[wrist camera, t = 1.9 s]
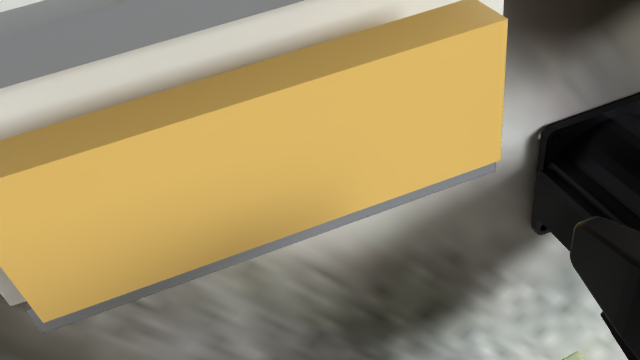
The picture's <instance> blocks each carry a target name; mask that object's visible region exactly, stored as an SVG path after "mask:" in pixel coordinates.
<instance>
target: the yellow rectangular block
mask: <svg viewBox="0 0 640 360" xmlns="http://www.w3.org/2000/svg"><path fill="white" fill-rule="evenodd" d="M507 28H508V19H507V18H506V17H504V16H502V15H501V14H499V13H498V12H496V11H494V10H493V9H491V8H489V7H488V6H486V5H485V4H483V3H481V2H480V1H478V0H461V1H458V2H455V3H451V4H448V5H445V6H441V7H438V8H435V9H432V10H428V11H425V12H422V13H418V14H415V15H412V16H408V17H405V18H402V19H399V20H395V21H392V22H389V23H385V24H382V25H379V26H375V27H372V28H369V29H366V30H362V31H359V32H356V33H352V34H349V35H346V36H343V37H339V38H336V39H333V40H329V41H326V42H323V43H319V44H316V45H313V46H310V47H306V48H303V49H300V50H296V51H293V52H290V53H286V54H283V55H280V56H277V57H273V58H270V59H267V60H263V61H260V62H257V63H254V64H250V65H247V66H244V67H240V68H237V69H234V70H230V71H227V72H224V73H221V74H217V75H214V76H211V77H207V78H204V79H201V80H197V81H194V82H191V83H188V84H184V85H181V86H178V87H174V88H171V89H168V90H164V91H161V92H158V93H155V94H151V95H148V96H145V97H141V98H138V99H135V100H132V101H128V102H125V103H122V104H118V105H115V106H112V107H108V108H105V109H102V110H99V111H95V112H92V113H89V114H85V115H82V116H79V117H75V118H72V119H69V120H66V121H62V122H59V123H56V124H52V125H49V126H46V127H43V128H39V129H36V130H33V131H29V132H26V133H23V134H19V135H16V136H13V137H10V138H6V139H3V140H0V267H1V268H2V269H3V271H4V272H5V273H6V275H7V276H8V277H9V279H10V280H11V281H12V283H13V284H14V285H15V287H16V288H17V289H18V290H19V292H20V293H21V294H22V296H23V297H24V298H25V300H26V301H27V302H28V304H29V305H30V306H31V308H32V309H33V310H34V311H35V313H36V314H37V315H38V317H39V318H40V319H41V321H42V322H43V323H45V322H48V321H51V320H53V319H56V318H59V317H62V316H65V315H67V314H70V313H73V312H76V311H79V310H81V309H84V308H87V307H90V306H93V305H96V304H98V303H101V302H104V301H107V300H110V299H112V298H115V297H118V296H121V295H124V294H126V293H129V292H132V291H135V290H138V289H140V288H143V287H146V286H149V285H152V284H155V283H157V282H160V281H163V280H166V279H169V278H171V277H174V276H177V275H180V274H183V273H185V272H188V271H191V270H194V269H197V268H199V267H202V266H205V265H208V264H211V263H214V262H216V261H219V260H222V259H225V258H228V257H230V256H233V255H236V254H239V253H242V252H244V251H247V250H250V249H253V248H256V247H258V246H261V245H264V244H267V243H270V242H272V241H275V240H278V239H281V238H284V237H287V236H289V235H292V234H295V233H298V232H301V231H303V230H306V229H309V228H312V227H315V226H317V225H320V224H323V223H326V222H329V221H331V220H334V219H337V218H340V217H343V216H346V215H348V214H351V213H354V212H357V211H360V210H362V209H365V208H368V207H371V206H374V205H376V204H379V203H382V202H385V201H388V200H390V199H393V198H396V197H399V196H402V195H405V194H407V193H410V192H413V191H416V190H419V189H421V188H424V187H427V186H430V185H433V184H435V183H438V182H441V181H444V180H447V179H449V178H452V177H455V176H458V175H461V174H464V173H466V172H469V171H472V170H475V169H478V168H480V167H483V166H486V165H489V164H492V163H494V162H497V161H500V157H501V139H502V121H503V102H504V84H505V65H506V47H507Z"/></svg>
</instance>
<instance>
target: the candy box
mask: <svg viewBox="0 0 640 360" xmlns="http://www.w3.org/2000/svg"><path fill="white" fill-rule="evenodd" d="M563 360H586V359H585V358H584V357H583V356H582V354H581V353H580V352H578V351H577V352H575V353H573V354H572V355H570V356H568V357H566V358H565V359H563Z"/></svg>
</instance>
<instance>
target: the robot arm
mask: <svg viewBox="0 0 640 360" xmlns="http://www.w3.org/2000/svg"><path fill="white" fill-rule="evenodd" d="M531 227H532V229H533V230H534V231H535V232H536V233H537V234H538V235H542V234H546V233H548V232H551V233H552V234H553V235H554V236H555V237H556V238H557V239H558V240H559V241H560V242H561V243H562V244H563V245H564V246H565V247H566V248H567V249H568V250H569V251H570V259H571V262H572V265H573V267H574V268H575V270H576V271H577V273H578V274H579V276H580V277H581V279H582V280H583V282H584V283H585V285H586V286H587V288H588V289H589V291H590V292H591V294H592V295H593V297H594V298H595V300H596V301H597V303H598V304H599V306H600V307H601V309H602V310H603V312H602V313H601V317H602V318H603V320H604V321H605V323H606V324H607V326H608V328H609V329H610V331H611V333H612V335H613V336H614V338H615V340H616V341H617V343H618V344H619V346H620V347H621V349H622V350H623V352H624V353H625V355H626V357H627V358H628V360H640V94H639V95H636V96H633V97H630V98H627V99H624V100H621V101H619V102H616V103H613V104H610V105H607V106H604V107H601V108H599V109H596V110H593V111H590V112H587V113H584V114H582V115H579V116H576V117H573V118H570V119H567V120H564V121H562V122H559V123H556V124H553V125H551V126H549V127H547V128H546V129H545V130H544V131H543V133H542V135H541V139H540V149H539V158H538V167H537V177H536V186H535V195H534V205H533V214H532V223H531Z"/></svg>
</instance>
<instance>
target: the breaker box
mask: <svg viewBox="0 0 640 360" xmlns="http://www.w3.org/2000/svg"><path fill="white" fill-rule="evenodd" d="M458 1H461V0H0V140H3V139H6V138H10V137H13V136H16V135H19V134H23V133H26V132H29V131H33V130H36V129H39V128H43V127H46V126H49V125H52V124H56V123H59V122H62V121H66V120H69V119H72V118H75V117H79V116H82V115H85V114H89V113H92V112H95V111H99V110H102V109H105V108H108V107H112V106H115V105H118V104H122V103H125V102H128V101H132V100H135V99H138V98H141V97H145V96H148V95H151V94H155V93H158V92H161V91H164V90H168V89H171V88H174V87H178V86H181V85H184V84H188V83H191V82H194V81H197V80H201V79H204V78H207V77H211V76H214V75H217V74H221V73H224V72H227V71H230V70H234V69H237V68H240V67H244V66H247V65H250V64H254V63H257V62H260V61H263V60H267V59H270V58H273V57H277V56H280V55H283V54H286V53H290V52H293V51H296V50H300V49H303V48H306V47H310V46H313V45H316V44H319V43H323V42H326V41H329V40H333V39H336V38H339V37H343V36H346V35H349V34H352V33H356V32H359V31H362V30H366V29H369V28H372V27H375V26H379V25H382V24H385V23H389V22H392V21H395V20H399V19H402V18H405V17H408V16H412V15H415V14H418V13H422V12H425V11H428V10H432V9H435V8H438V7H441V6H445V5H448V4H451V3H455V2H458ZM478 1H480V2H481V3H483V4H485V5H486V6H488V7H489V8H491V9H493V10H494V11H496V12H498V13H499V14H501V15H502V16H503V6H504V0H478ZM494 171H496V162H494V163H492V164H489V165H486V166H483V167H480V168H478V169H475V170H472V171H469V172H466V173H464V174H461V175H458V176H455V177H452V178H449V179H447V180H444V181H441V182H438V183H435V184H433V185H430V186H427V187H424V188H421V189H419V190H416V191H413V192H410V193H407V194H405V195H402V196H399V197H396V198H393V199H390V200H388V201H385V202H382V203H379V204H376V205H374V206H371V207H368V208H365V209H362V210H360V211H357V212H354V213H351V214H348V215H346V216H343V217H340V218H337V219H334V220H331V221H329V222H326V223H323V224H320V225H317V226H315V227H312V228H309V229H306V230H303V231H301V232H298V233H295V234H292V235H289V236H287V237H284V238H281V239H278V240H275V241H272V242H270V243H267V244H264V245H261V246H258V247H256V248H253V249H250V250H247V251H244V252H242V253H239V254H236V255H233V256H230V257H228V258H225V259H222V260H219V261H216V262H214V263H211V264H208V265H205V266H202V267H199V268H197V269H194V270H191V271H188V272H185V273H183V274H180V275H177V276H174V277H171V278H169V279H166V280H163V281H160V282H157V283H155V284H152V285H149V286H146V287H143V288H140V289H138V290H135V291H132V292H129V293H126V294H124V295H121V296H118V297H115V298H112V299H110V300H107V301H104V302H101V303H98V304H96V305H93V306H90V307H87V308H84V309H81V310H79V311H76V312H73V313H70V314H67V315H65V316H62V317H59V318H56V319H53V320H51V321H48V322H45V323H43V322H42V321H41V319H40V318H39V317H38V315H37V314H36V313H35V311H34V310H33V309H32V308H31V306H30V305H29V304H28V302H27V301H26V300H25V298H24V297H23V296H22V294H21V293H20V292H19V290H18V289H17V288H16V287H15V285H14V284H13V283H12V281H11V280H10V279H9V277H8V276H7V275H6V273H5V272H4V271H3V269H2V268H1V267H0V294H1V295H2V296H3V297H4V299H5V300H6V301H7V302H8V304H9V305H10V306H13V305H16V304H19V303H22V302H24V301H26V310H25V311H26V312H27V314H28V315H29V316H30V318H31V319H32V320H33V321H34V323H35V324H36V325H37V327H38V328H39V329H40V330H41V332H42V333H45V332H48V331H51V330H54V329H57V328H59V327H62V326H65V325H68V324H71V323H73V322H76V321H79V320H82V319H85V318H87V317H90V316H93V315H96V314H98V313H101V312H104V311H107V310H110V309H112V308H115V307H118V306H121V305H124V304H126V303H129V302H132V301H135V300H137V299H140V298H143V297H146V296H149V295H151V294H154V293H157V292H160V291H163V290H165V289H168V288H171V287H174V286H176V285H179V284H182V283H185V282H188V281H190V280H193V279H196V278H199V277H202V276H204V275H207V274H210V273H213V272H216V271H218V270H221V269H224V268H227V267H229V266H232V265H235V264H238V263H241V262H243V261H246V260H249V259H252V258H255V257H257V256H260V255H263V254H266V253H268V252H271V251H274V250H277V249H280V248H282V247H285V246H288V245H291V244H294V243H296V242H299V241H302V240H305V239H308V238H310V237H313V236H316V235H319V234H321V233H324V232H327V231H330V230H333V229H335V228H338V227H341V226H344V225H347V224H349V223H352V222H355V221H358V220H360V219H363V218H366V217H369V216H372V215H374V214H377V213H380V212H383V211H386V210H388V209H391V208H394V207H397V206H399V205H402V204H405V203H408V202H411V201H413V200H416V199H419V198H422V197H425V196H427V195H430V194H433V193H436V192H439V191H441V190H444V189H447V188H450V187H452V186H455V185H458V184H461V183H464V182H466V181H469V180H472V179H475V178H478V177H480V176H483V175H486V174H489V173H491V172H494Z"/></svg>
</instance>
